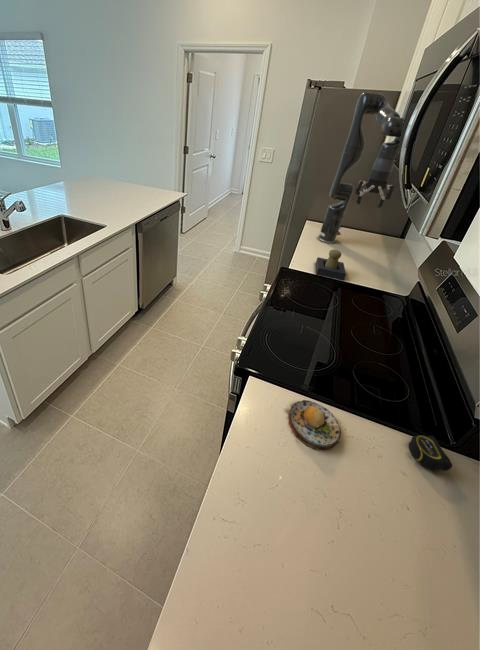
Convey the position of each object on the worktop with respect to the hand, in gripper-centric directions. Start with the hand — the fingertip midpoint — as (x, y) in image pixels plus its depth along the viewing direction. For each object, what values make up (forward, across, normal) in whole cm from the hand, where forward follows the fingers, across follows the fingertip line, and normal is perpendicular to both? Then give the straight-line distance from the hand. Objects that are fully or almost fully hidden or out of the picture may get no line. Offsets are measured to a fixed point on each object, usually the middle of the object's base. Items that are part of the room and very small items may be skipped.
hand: (368, 205), depth 140 cm
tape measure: (+30, -7, +100) cm, 105 cm away
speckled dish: (+30, +18, +102) cm, 108 cm away
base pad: (+30, +9, +14) cm, 34 cm away
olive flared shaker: (+30, +9, +14) cm, 35 cm away
